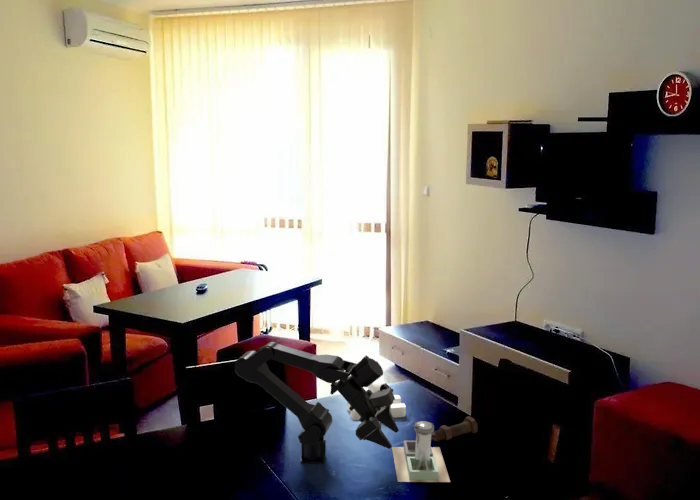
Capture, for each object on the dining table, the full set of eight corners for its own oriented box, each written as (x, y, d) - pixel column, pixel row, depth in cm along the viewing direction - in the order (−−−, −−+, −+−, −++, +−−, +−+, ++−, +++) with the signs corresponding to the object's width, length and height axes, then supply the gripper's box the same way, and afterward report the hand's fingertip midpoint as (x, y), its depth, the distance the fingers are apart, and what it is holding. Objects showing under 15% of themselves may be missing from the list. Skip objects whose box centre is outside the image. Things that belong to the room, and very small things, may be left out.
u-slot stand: (346, 407, 211) (347, 377, 209) (398, 404, 215) (399, 374, 213) (352, 421, 202) (352, 389, 200) (406, 417, 206) (407, 386, 203)
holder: (406, 461, 176) (406, 453, 176) (403, 448, 184) (403, 440, 183) (432, 462, 177) (432, 454, 176) (428, 448, 184) (429, 440, 183)
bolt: (431, 447, 190) (470, 435, 197) (440, 446, 186) (480, 434, 193) (426, 428, 192) (465, 416, 199) (434, 427, 187) (474, 415, 194)
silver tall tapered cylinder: (410, 475, 170) (412, 427, 167) (413, 465, 174) (416, 419, 172) (429, 479, 168) (432, 430, 165) (432, 469, 173) (435, 421, 170)
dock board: (397, 485, 167) (397, 481, 167) (391, 449, 185) (391, 446, 184) (450, 485, 167) (450, 482, 167) (439, 450, 185) (439, 447, 185)
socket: (409, 480, 167) (409, 471, 167) (406, 464, 175) (406, 456, 174) (437, 480, 168) (438, 471, 167) (433, 465, 175) (434, 456, 175)
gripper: (369, 393, 161) (409, 439, 160) (384, 366, 178) (421, 408, 178) (338, 417, 164) (378, 462, 164) (357, 388, 182) (393, 429, 181)
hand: (394, 439), depth 172 cm, fingers open, 9 cm apart
